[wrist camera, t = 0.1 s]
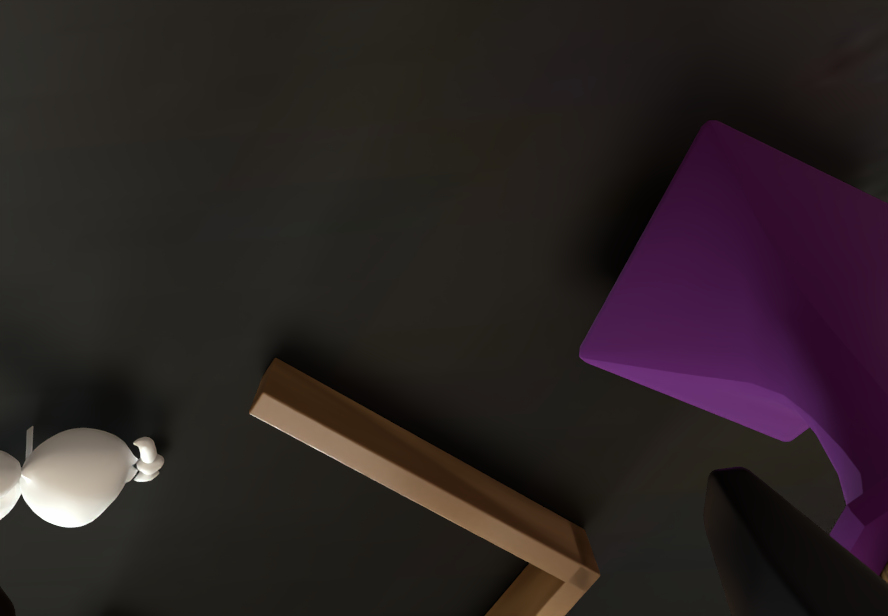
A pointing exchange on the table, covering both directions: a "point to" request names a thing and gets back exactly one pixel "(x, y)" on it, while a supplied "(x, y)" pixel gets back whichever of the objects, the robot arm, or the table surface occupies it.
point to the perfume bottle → (765, 312)
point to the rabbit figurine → (74, 474)
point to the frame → (437, 488)
